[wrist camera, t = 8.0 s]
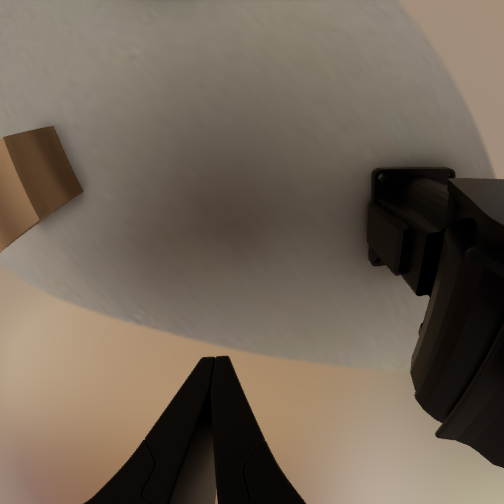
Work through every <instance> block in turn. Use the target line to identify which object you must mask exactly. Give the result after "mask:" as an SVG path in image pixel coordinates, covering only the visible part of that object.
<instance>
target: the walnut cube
mask: <svg viewBox="0 0 504 504" xmlns="http://www.w3.org/2000/svg"><path fill="white" fill-rule="evenodd" d="M82 192H83V190H82V188H81V186H80V184H79V182H78V180H77V178H76V176H75V174H74V172H73V170H72V167H71V165H70V163H69V161H68V159H67V157H66V154H65V152H64V150H63V148H62V145H61V143H60V141H59V138H58V136H57V134H56V131H55V129H54V126H51V127H45V128H40V129H35V130H31V131H26V132H22V133H18V134H14V135H10V136H6V137H3V138H2V139H1V140H0V252H2V251H3V250H4V249H5V248H6V247H8V246H9V245H10V244H11V243H13V242H14V241H15V240H16V239H18V238H19V237H20V236H22V235H23V234H24V233H26V232H27V231H28V230H30V229H31V228H32V227H34V226H35V225H36V224H38V223H39V222H41V221H42V220H43V219H45V218H46V217H47V216H49V215H50V214H51V213H53V212H54V211H55V210H57V209H58V208H60V207H61V206H63V205H64V204H65V203H67V202H68V201H70V200H71V199H73V198H74V197H76V196H77V195H79V194H80V193H82Z"/></svg>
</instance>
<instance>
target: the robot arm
mask: <svg viewBox="0 0 504 504" xmlns="http://www.w3.org/2000/svg"><path fill="white" fill-rule="evenodd" d="M380 174H383V178H382V179H381V180H379V179H378V177H379V175H380ZM448 174H450V176H449V178H448ZM367 242H368V243H369V261H370V263H371V264H372V265H373V266H383V265H387V267H388V268H389V269H390V270H391V272H392V273H393V274H394V275H396V276H399V275H401V276H402V278H403V279H404V280H405V281H406V283H407V284H408V285H409V286H410V288H411V289H412V290H413V291H414V293H415V294H416V295H417V296H423V295H429V297H430V300H429V304H428V307H427V311H426V314H425V318H424V321H423V323H421V325H420V329H419V338H418V341H417V344H416V347H415V350H414V353H413V355H412V361H411V371H410V373H411V377H412V380H413V384H414V388H415V391H416V392H415V395H414V396H415V399H416V400H417V401H418V403H419V404H420V405H421V407H422V408H423V410H425V411H426V412H427V413H428V414H429V415H431V416H432V417H433V418H434V419H436V420H437V421H440V422H441V423H442V425H441V426H440V427H439V428H438V430H437V431H436V433H435V435H436V437H437V438H442V439H449V440H456V441H458V442H461V443H463V444H466V445H468V446H470V447H472V448H473V449H475V450H476V451H478V452H479V453H480V454H481V455H482V456H484V457H485V458H486V459H487V460H489V461H490V462H491V463H492V464H493V465H496V466H500V467H503V468H504V179H473V178H455V172H454V170H452V169H450V168H437V167H403V168H377V169H376V170H374V172H373V174H372V202H371V203H370V204H369V207H368V231H367ZM377 256H378V259H377V260H374V259H375V258H376V257H377ZM216 488H217V498H218V504H306V503H305V502H304V500H303V499H302V498H301V496H300V495H299V494H298V493H297V491H296V490H295V488H294V487H293V486H292V484H291V483H290V482H289V480H288V479H287V478H286V476H285V475H284V473H283V472H282V470H281V469H280V467H279V465H278V464H277V462H276V460H275V458H274V456H273V454H272V453H271V451H270V449H269V446H268V444H267V442H266V441H265V438H264V436H263V434H262V432H261V430H260V427H259V425H258V423H257V421H256V419H255V416H254V414H253V412H252V410H251V407H250V405H249V403H248V401H247V398H246V396H245V394H244V391H243V389H242V387H241V384H240V382H239V379H238V377H237V375H236V373H235V370H234V367H233V365H232V363H231V360H230V358H229V356H217V357H216V358H215V357H203V358H201V359H200V361H199V362H198V364H197V365H196V366H195V368H194V370H193V371H192V372H191V374H190V375H189V376H188V378H187V379H186V381H185V382H184V384H183V385H182V387H181V388H180V389H179V391H178V392H177V394H176V395H175V396H174V398H173V399H172V401H171V402H170V404H169V405H168V407H167V408H166V409H165V411H164V412H163V413H162V415H161V416H160V418H159V419H158V421H157V422H156V423H155V425H154V426H153V428H152V429H151V431H150V432H149V433H148V435H147V436H146V437H145V440H143V441H142V443H141V444H140V445H139V447H138V448H137V449H136V451H135V452H134V453H133V455H132V456H131V457H130V458H129V460H128V461H127V462H126V463H125V464H124V465H123V466H122V468H121V469H120V470H119V471H118V472H117V473H116V474H115V475H114V476H113V477H112V478H111V479H110V480H109V481H108V482H107V483H106V484H105V485H104V486H103V487H102V488H101V490H99V492H97V493H96V494H95V495H94V496H93V497H92V498H91V499H90V500H88V501H87V502H85V503H84V504H215V498H216Z"/></svg>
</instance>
